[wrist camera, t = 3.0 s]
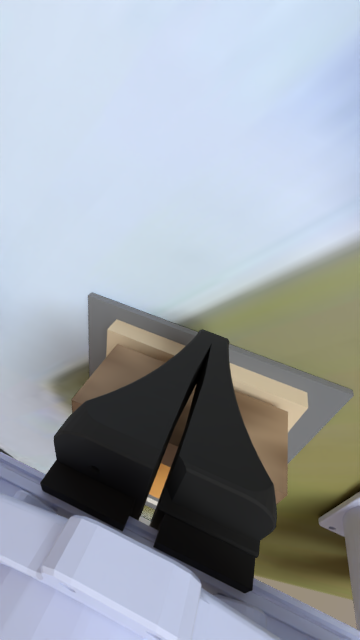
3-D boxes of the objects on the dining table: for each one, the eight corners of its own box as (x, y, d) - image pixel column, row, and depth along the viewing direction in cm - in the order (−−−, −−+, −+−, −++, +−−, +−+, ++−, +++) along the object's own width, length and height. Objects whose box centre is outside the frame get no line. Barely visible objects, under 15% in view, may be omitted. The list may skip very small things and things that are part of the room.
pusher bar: (288, 411, 14) (287, 494, 11) (272, 431, 16) (268, 511, 12) (117, 343, 16) (71, 399, 12) (115, 366, 17) (73, 423, 14)
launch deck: (352, 390, 15) (361, 429, 13) (201, 550, 35) (195, 574, 33) (92, 292, 17) (66, 313, 15) (92, 496, 38) (81, 516, 36)
